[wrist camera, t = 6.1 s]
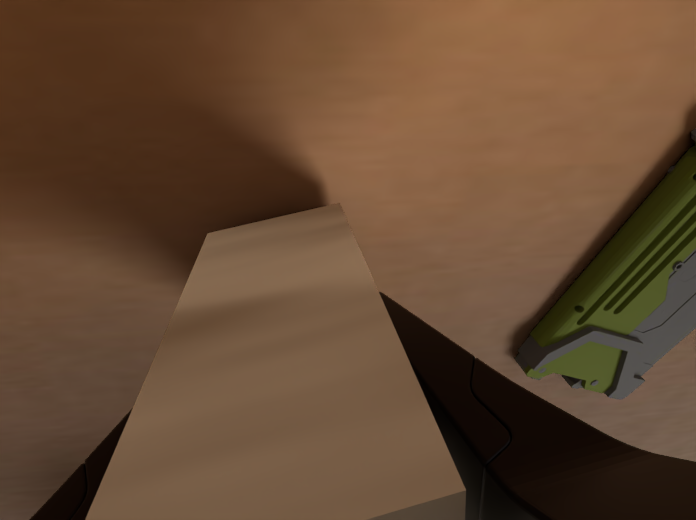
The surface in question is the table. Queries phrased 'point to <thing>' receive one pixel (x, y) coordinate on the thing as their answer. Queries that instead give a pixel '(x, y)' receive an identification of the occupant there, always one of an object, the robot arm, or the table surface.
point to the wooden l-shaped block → (281, 393)
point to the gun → (626, 297)
